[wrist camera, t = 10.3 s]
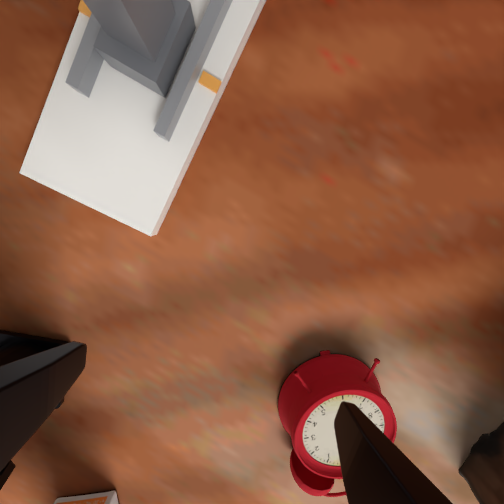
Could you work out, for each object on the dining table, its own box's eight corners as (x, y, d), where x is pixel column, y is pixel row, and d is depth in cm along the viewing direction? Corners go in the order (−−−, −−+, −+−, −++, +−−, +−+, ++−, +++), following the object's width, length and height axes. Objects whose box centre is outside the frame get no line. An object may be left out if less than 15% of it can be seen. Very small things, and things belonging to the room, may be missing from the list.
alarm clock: (400, 356, 19) (431, 544, 19) (362, 333, 26) (384, 474, 25) (277, 376, 19) (304, 570, 18) (268, 348, 25) (289, 492, 25)
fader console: (156, 234, 20) (144, 238, 17) (36, 176, 18) (3, 170, 16) (281, -33, 17) (290, -78, 14) (152, -125, 16) (135, -194, 13)
